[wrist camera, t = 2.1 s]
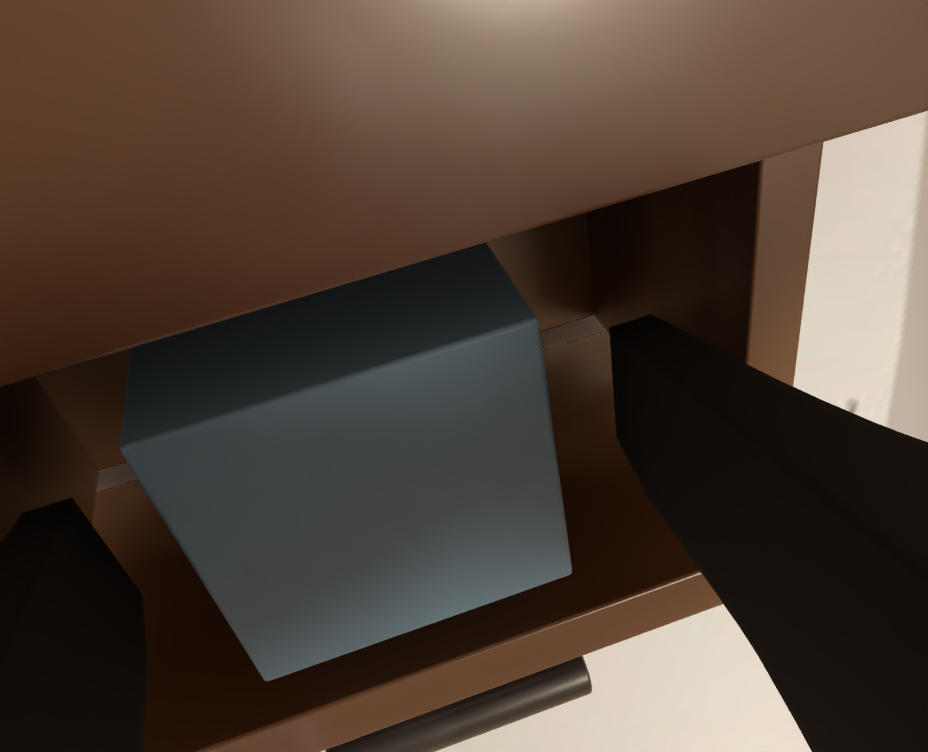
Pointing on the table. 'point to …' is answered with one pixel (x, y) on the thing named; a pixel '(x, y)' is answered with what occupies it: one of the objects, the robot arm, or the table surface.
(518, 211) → the cabinet
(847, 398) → the table surface
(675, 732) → the table surface
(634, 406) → the robot arm
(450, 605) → the box
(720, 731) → the table surface
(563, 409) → the drawer
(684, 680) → the table surface
